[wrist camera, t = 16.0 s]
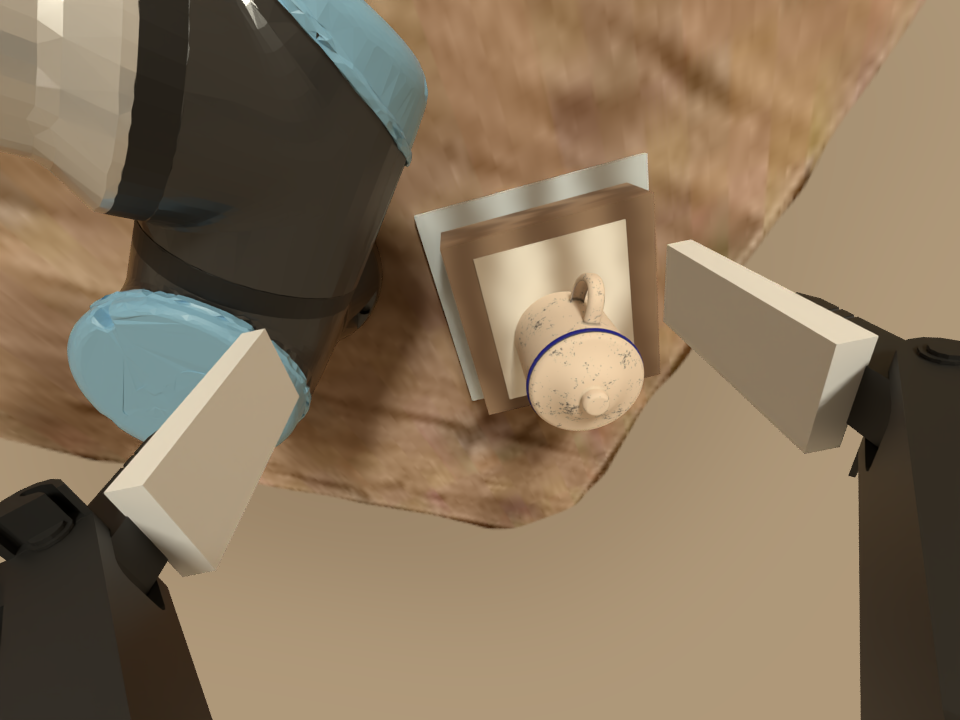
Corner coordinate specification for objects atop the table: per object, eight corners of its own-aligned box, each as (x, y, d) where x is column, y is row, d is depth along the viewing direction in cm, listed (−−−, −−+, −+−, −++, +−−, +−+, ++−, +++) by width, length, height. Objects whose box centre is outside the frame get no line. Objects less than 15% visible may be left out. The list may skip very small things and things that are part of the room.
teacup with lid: (595, 376, 43) (641, 456, 33) (505, 372, 42) (524, 453, 32) (626, 258, 37) (694, 313, 27) (523, 251, 36) (553, 304, 26)
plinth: (472, 397, 51) (475, 434, 45) (414, 215, 40) (409, 233, 34) (652, 353, 50) (680, 386, 44) (643, 152, 39) (679, 159, 33)
